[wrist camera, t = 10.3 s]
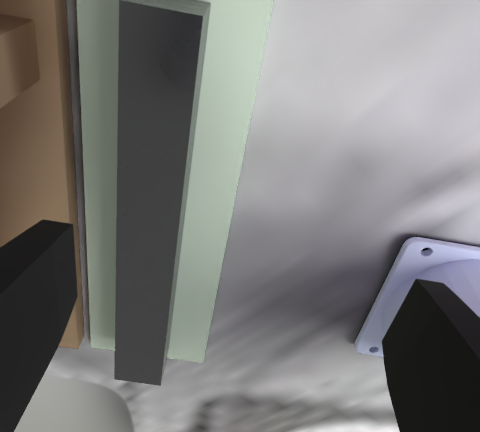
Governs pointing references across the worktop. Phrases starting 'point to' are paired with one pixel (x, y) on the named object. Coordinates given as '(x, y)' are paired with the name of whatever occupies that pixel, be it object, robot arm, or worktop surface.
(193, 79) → the rail
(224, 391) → the worktop surface
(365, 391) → the worktop surface
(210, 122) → the mat
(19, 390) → the robot arm
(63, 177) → the hook stands
